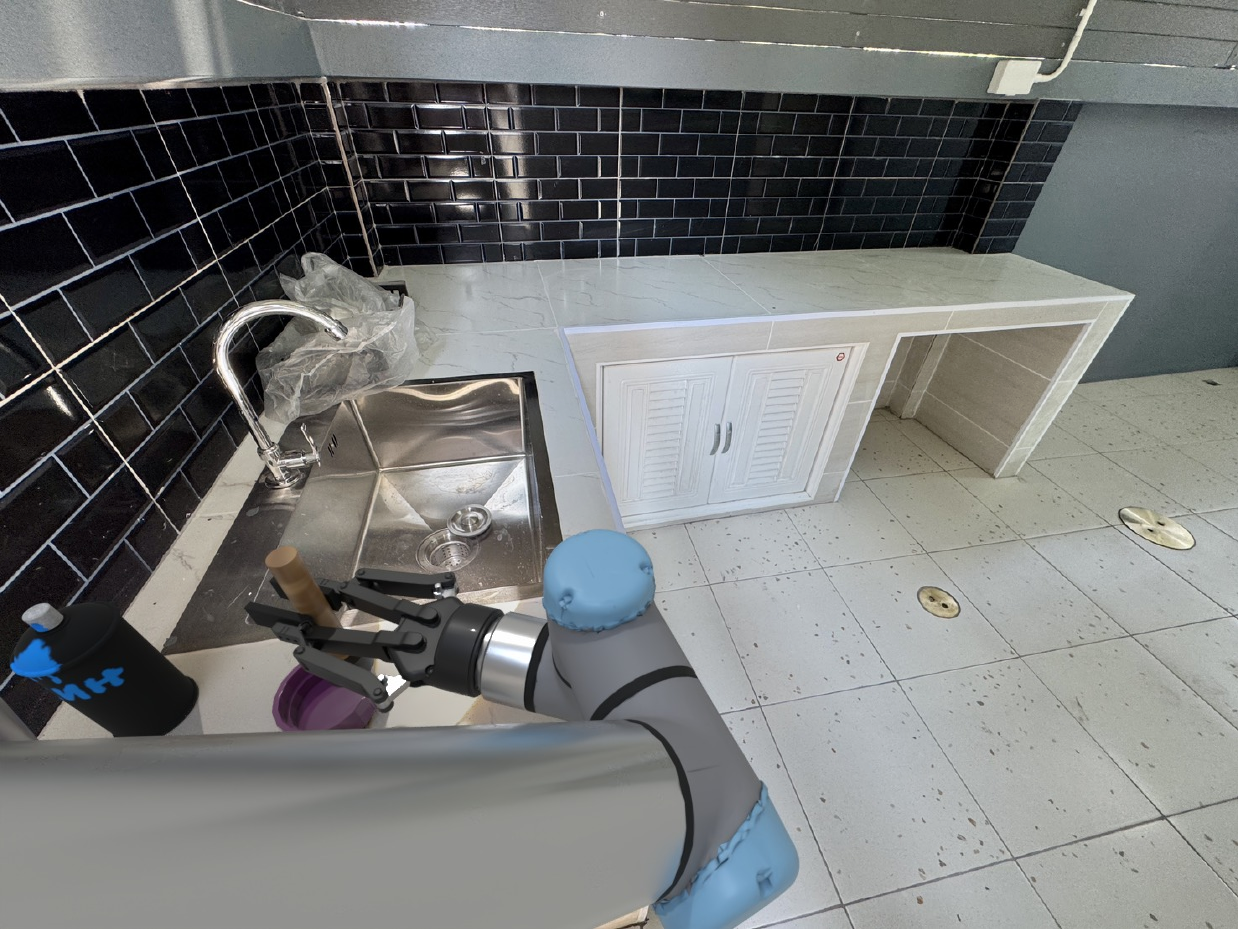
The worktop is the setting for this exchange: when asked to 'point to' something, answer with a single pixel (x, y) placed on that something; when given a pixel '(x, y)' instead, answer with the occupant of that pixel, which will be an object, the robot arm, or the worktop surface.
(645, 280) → the worktop surface
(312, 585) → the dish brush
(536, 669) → the robot arm
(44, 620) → the aerosol can
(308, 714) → the plum bowl
